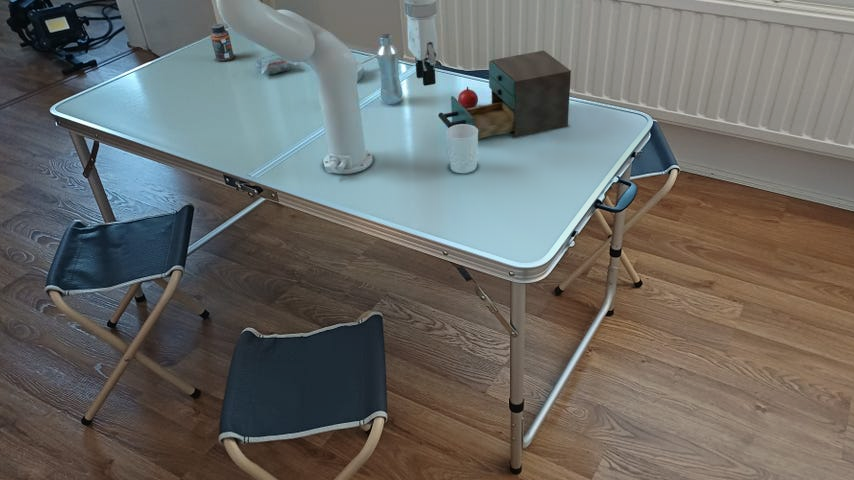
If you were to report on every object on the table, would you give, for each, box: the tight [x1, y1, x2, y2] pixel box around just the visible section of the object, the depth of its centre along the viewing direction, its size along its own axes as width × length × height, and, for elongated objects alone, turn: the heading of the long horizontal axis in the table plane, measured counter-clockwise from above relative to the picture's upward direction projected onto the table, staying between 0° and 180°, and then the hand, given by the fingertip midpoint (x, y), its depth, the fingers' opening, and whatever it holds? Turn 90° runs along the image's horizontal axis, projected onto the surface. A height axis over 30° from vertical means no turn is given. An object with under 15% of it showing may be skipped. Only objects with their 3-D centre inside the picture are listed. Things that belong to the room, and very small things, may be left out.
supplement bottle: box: [210, 23, 235, 62], centre depth 245 cm, size 6×6×11 cm
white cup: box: [445, 124, 479, 174], centre depth 181 cm, size 8×8×10 cm
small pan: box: [356, 54, 377, 82], centre depth 233 cm, size 11×18×4 cm, turn 136°
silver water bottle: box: [376, 33, 404, 105], centre depth 210 cm, size 6×7×20 cm
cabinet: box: [488, 50, 572, 138], centre depth 199 cm, size 18×16×16 cm
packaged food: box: [254, 54, 297, 76], centre depth 237 cm, size 9×12×5 cm
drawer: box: [437, 95, 514, 140], centre depth 197 cm, size 21×15×8 cm
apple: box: [457, 86, 479, 109], centre depth 209 cm, size 6×6×7 cm
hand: (426, 80), depth 185 cm, fingers open, 4 cm apart
